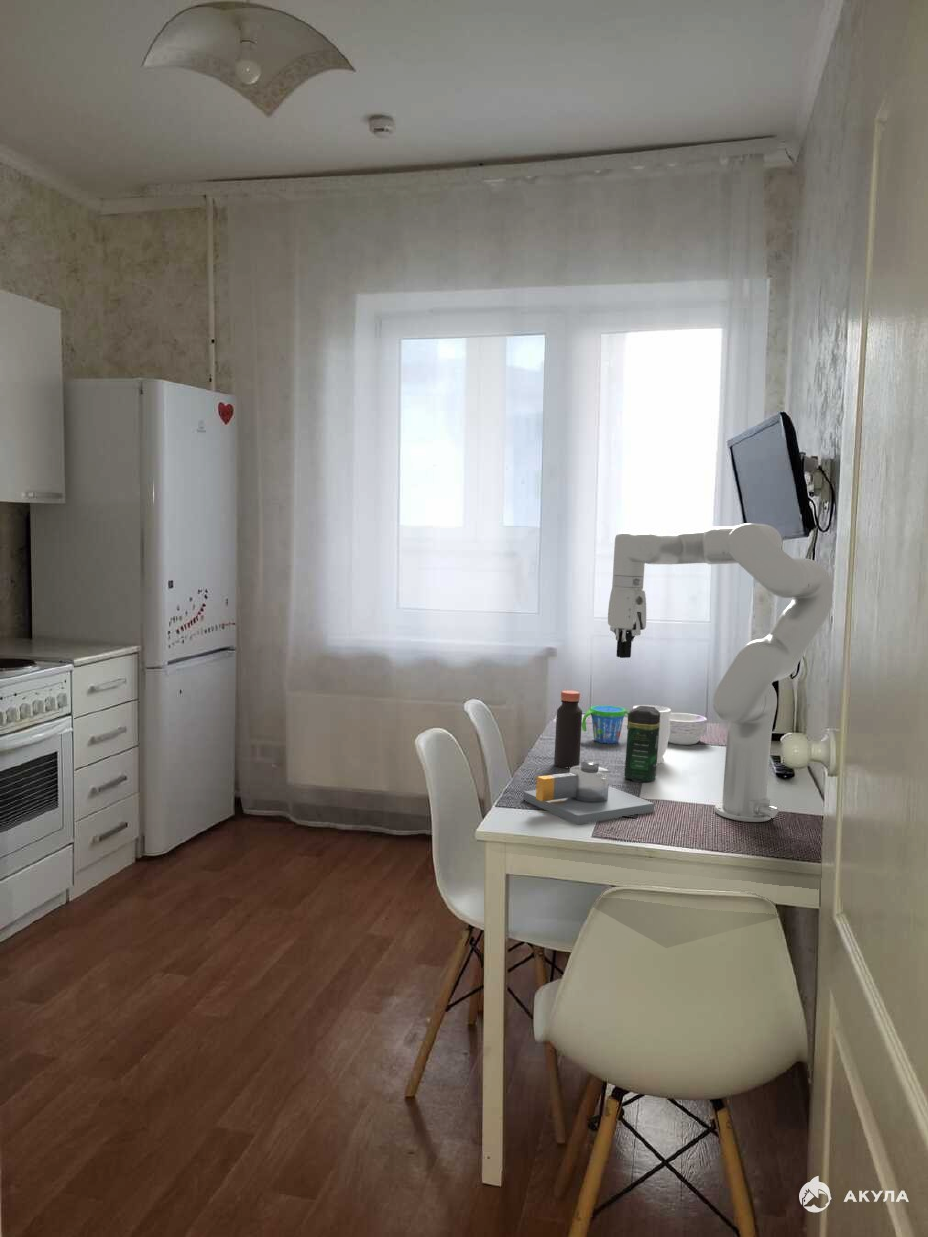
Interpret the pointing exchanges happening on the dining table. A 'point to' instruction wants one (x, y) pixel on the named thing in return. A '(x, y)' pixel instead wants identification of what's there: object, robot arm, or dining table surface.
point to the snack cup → (606, 722)
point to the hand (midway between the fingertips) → (623, 657)
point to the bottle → (568, 730)
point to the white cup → (662, 730)
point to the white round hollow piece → (686, 728)
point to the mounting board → (593, 806)
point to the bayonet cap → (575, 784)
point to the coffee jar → (642, 744)
